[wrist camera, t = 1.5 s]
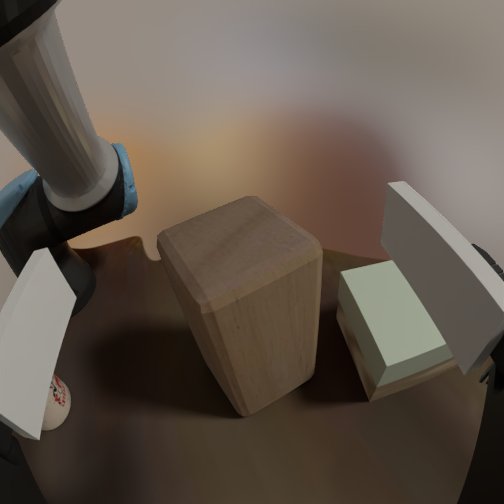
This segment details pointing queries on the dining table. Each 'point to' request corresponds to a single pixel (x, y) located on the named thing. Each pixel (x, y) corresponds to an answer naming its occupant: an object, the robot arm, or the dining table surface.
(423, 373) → the tower base slab
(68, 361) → the dining table surface
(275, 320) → the block
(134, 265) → the dining table surface
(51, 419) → the teacup with lid
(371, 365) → the tower top slab
